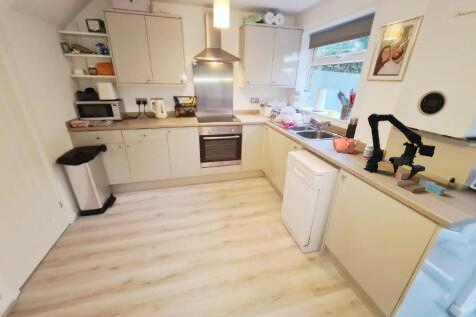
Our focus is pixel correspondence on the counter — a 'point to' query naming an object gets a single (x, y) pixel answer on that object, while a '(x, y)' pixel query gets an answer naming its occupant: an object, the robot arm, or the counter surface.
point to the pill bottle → (368, 151)
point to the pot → (344, 145)
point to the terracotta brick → (402, 175)
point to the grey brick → (425, 182)
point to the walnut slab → (411, 186)
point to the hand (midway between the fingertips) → (401, 176)
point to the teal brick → (436, 189)
